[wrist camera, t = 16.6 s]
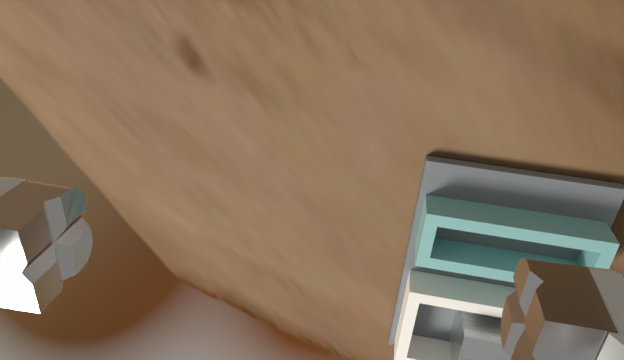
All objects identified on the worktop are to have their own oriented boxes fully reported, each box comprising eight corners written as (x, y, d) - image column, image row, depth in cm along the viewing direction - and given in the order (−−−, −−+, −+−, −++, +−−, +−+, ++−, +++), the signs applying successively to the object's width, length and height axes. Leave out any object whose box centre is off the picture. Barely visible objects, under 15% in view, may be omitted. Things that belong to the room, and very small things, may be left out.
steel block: (511, 305, 45) (521, 347, 41) (498, 342, 47) (506, 386, 43) (459, 296, 45) (464, 337, 41) (449, 332, 48) (452, 375, 43)
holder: (623, 183, 39) (643, 210, 36) (545, 365, 49) (555, 400, 45) (426, 155, 41) (427, 178, 37) (388, 336, 50) (387, 368, 47)
